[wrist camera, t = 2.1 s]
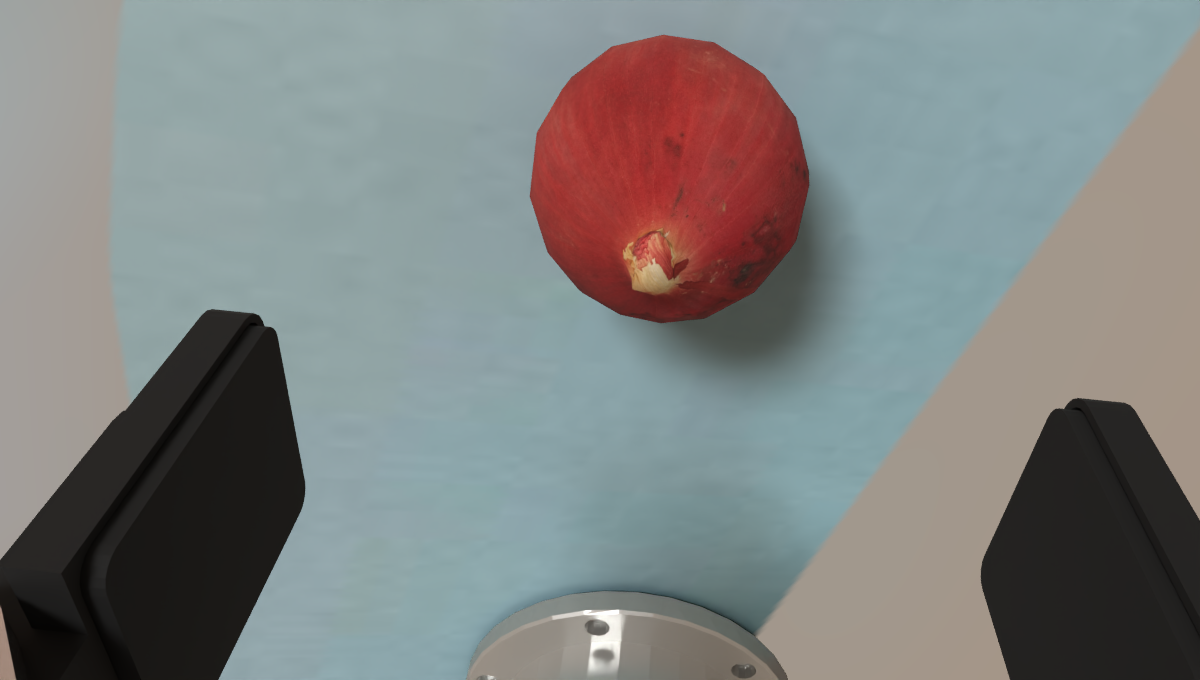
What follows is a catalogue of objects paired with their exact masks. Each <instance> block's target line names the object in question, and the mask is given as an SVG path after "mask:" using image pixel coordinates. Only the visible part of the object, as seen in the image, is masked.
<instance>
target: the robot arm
mask: <svg viewBox="0 0 1200 680" xmlns="http://www.w3.org/2000/svg"><path fill="white" fill-rule="evenodd" d="M304 497H305V480H304V474H303V469H302V464H301V459H300V453H299V448H298V443H297V437H296V432H295V427H294V421H293V416H292V411H291V405H290V400H289V395H288V390H287V384H286V379H285V374H284V368H283V363H282V358H281V352H280V347H279V342H278V337H277V334H276V331H275V330H274V328H271V327H265V326H264V324H263V321H262V319H261V318H260V316H259V315H257V314H253V313H244V312H234V311H224V310H214V309H211V310H207V311H206V312H205V313H204V314H203V315H202V316H201V317H200V318H199V319H198V321H197V322H196V323H195V324H194V326H193V327H192V328H191V329H190V331H189V332H188V333H187V334H186V336H185V337H184V338H183V339H182V341H181V342H180V343H179V344H178V346H177V347H176V348H175V349H174V351H173V352H172V353H171V354H170V356H169V357H168V358H167V359H166V361H165V362H164V363H163V364H162V366H161V367H160V368H159V369H158V371H157V372H156V373H155V374H154V376H153V377H152V378H151V379H150V381H149V382H148V383H147V384H146V386H145V387H144V388H143V389H142V391H141V392H140V393H139V394H138V396H137V397H136V398H135V399H134V401H133V402H132V403H131V404H130V406H129V407H128V408H127V409H126V410H125V411H123V412H121V413H120V414H119V415H118V416H117V417H116V418H115V419H114V420H113V421H112V422H111V423H110V425H109V426H108V427H107V429H106V430H105V431H104V432H103V434H102V435H101V436H100V437H99V438H98V440H97V441H96V442H95V443H94V445H93V446H92V447H91V448H90V450H89V451H88V452H87V453H86V454H85V456H84V457H83V458H82V459H81V461H80V462H79V463H78V464H77V466H76V467H75V468H74V469H73V471H72V472H71V473H70V474H69V476H68V477H67V478H66V479H65V481H64V482H63V483H62V484H61V485H60V487H59V488H58V489H57V491H56V492H55V493H54V494H53V495H52V497H51V498H50V499H49V500H48V502H47V503H46V504H45V506H44V507H43V508H42V509H41V510H40V512H39V513H38V514H37V515H36V517H35V518H34V519H33V520H32V522H31V523H30V524H29V525H28V527H27V528H26V529H25V530H24V532H23V533H22V534H21V535H20V536H19V538H18V539H17V540H16V541H15V543H14V544H13V545H12V546H11V548H10V549H9V550H8V551H7V553H6V554H5V555H4V556H3V557H2V559H1V560H0V680H218V679H219V677H220V675H221V673H222V671H223V669H224V667H225V665H226V663H227V661H228V659H229V657H230V655H231V653H232V651H233V649H234V647H235V645H236V643H237V640H238V638H239V636H240V634H241V632H242V630H243V628H244V626H245V624H246V622H247V620H248V618H249V616H250V614H251V612H252V610H253V608H254V606H255V604H256V602H257V600H258V598H259V596H260V594H261V592H262V589H263V587H264V585H265V583H266V581H267V579H268V577H269V575H270V573H271V571H272V569H273V567H274V565H275V563H276V561H277V559H278V557H279V555H280V553H281V551H282V549H283V547H284V545H285V543H286V541H287V539H288V536H289V534H290V532H291V530H292V528H293V526H294V524H295V522H296V520H297V518H298V516H299V514H300V512H301V509H302V506H303V502H304ZM981 584H982V589H983V592H984V596H985V599H986V602H987V605H988V609H989V612H990V615H991V618H992V622H993V625H994V628H995V632H996V635H997V638H998V642H999V644H1000V648H1001V651H1002V655H1003V658H1004V661H1005V664H1006V668H1007V671H1008V674H1009V677H1010V680H1200V520H1199V518H1198V517H1197V515H1196V513H1195V512H1194V510H1193V508H1192V507H1191V505H1190V503H1189V501H1188V500H1187V498H1186V496H1185V495H1184V493H1183V491H1182V490H1181V488H1180V486H1179V484H1178V483H1177V481H1176V479H1175V478H1174V476H1173V474H1172V472H1171V471H1170V469H1169V468H1168V466H1167V464H1166V463H1165V461H1164V459H1163V457H1162V456H1161V454H1160V452H1159V450H1158V449H1157V447H1156V445H1155V444H1154V442H1153V440H1152V439H1151V437H1150V435H1149V434H1148V432H1147V430H1146V429H1145V427H1144V425H1143V423H1142V422H1141V420H1140V418H1139V417H1138V415H1137V413H1136V411H1135V410H1134V409H1133V408H1132V407H1131V406H1130V405H1128V404H1126V403H1121V402H1111V401H1101V400H1091V399H1081V398H1077V399H1073V400H1072V401H1070V402H1069V403H1068V404H1067V405H1066V407H1065V409H1055V410H1053V411H1052V412H1051V413H1050V415H1049V417H1048V419H1047V421H1046V423H1045V425H1044V427H1043V430H1042V432H1041V434H1040V436H1039V438H1038V440H1037V443H1036V445H1035V447H1034V449H1033V451H1032V454H1031V456H1030V458H1029V460H1028V462H1027V465H1026V467H1025V469H1024V471H1023V473H1022V475H1021V477H1020V480H1019V482H1018V484H1017V486H1016V488H1015V491H1014V493H1013V495H1012V497H1011V499H1010V501H1009V503H1008V506H1007V508H1006V510H1005V512H1004V514H1003V517H1002V519H1001V521H1000V523H999V526H998V528H997V530H996V532H995V534H994V536H993V538H992V540H991V543H990V545H989V547H988V549H987V551H986V554H985V556H984V559H983V561H982V567H981ZM466 680H788V678H787V675H786V673H785V672H784V670H783V669H782V667H781V665H780V664H779V662H778V661H777V659H776V658H775V656H774V655H773V654H772V653H771V652H770V651H769V650H768V649H767V648H766V647H765V646H764V645H763V644H762V643H761V642H760V641H759V640H758V639H757V638H756V637H755V636H753V635H752V634H751V633H749V632H748V631H746V630H745V629H743V628H742V627H740V626H739V625H737V624H736V623H734V622H733V621H731V620H729V619H727V618H725V617H722V616H720V615H718V614H716V613H714V612H712V611H709V610H707V609H705V608H703V607H700V606H697V605H693V604H690V603H687V602H684V601H680V600H677V599H674V598H670V597H664V596H658V595H652V594H646V593H640V592H619V591H598V592H588V593H578V594H570V595H566V596H562V597H558V598H554V599H550V600H546V601H542V602H539V603H537V604H534V605H532V606H530V607H527V608H525V609H522V610H520V611H518V612H515V613H514V614H512V615H511V616H509V617H508V618H506V619H505V620H503V621H502V622H500V623H499V624H498V625H496V626H495V627H494V628H493V629H492V630H491V631H490V632H489V633H488V634H487V635H486V636H485V637H484V638H483V640H482V641H481V642H480V643H479V645H478V647H477V649H476V651H475V653H474V655H473V657H472V659H471V661H470V665H469V669H468V674H467V678H466Z"/></svg>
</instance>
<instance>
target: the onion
mask: <svg viewBox="0 0 1200 680" xmlns="http://www.w3.org/2000/svg"><path fill="white" fill-rule="evenodd" d="M808 188H809V170H808V166H807V162H806V158H805V154H804V149H803V145H802V141H801V137H800V132H799V128H798V124H797V120H796V117H795V116H794V114H793V113H792V112H791V110H790V109H789V108H788V106H787V105H786V104H785V102H784V101H783V100H782V98H781V97H780V95H779V94H778V93H777V91H776V90H775V89H774V87H773V86H772V85H771V83H770V82H769V81H768V79H767V78H766V76H765V75H764V74H762V73H761V72H760V71H758V70H757V69H756V68H754V67H753V66H751V65H749V64H748V63H746V62H745V61H743V60H741V59H740V58H738V57H737V56H735V55H733V54H732V53H730V52H729V51H727V50H725V49H724V48H722V47H721V46H719V45H717V44H716V43H714V42H707V41H701V40H694V39H687V38H680V37H674V36H667V35H661V36H656V37H652V38H647V39H643V40H639V41H634V42H630V43H626V44H621V45H617V46H613V47H611V48H609V49H608V50H607V51H605V52H604V53H603V54H602V55H600V56H599V57H598V58H596V59H595V60H594V61H592V62H591V63H590V64H588V65H587V66H586V67H584V68H583V69H582V70H581V71H579V72H578V73H577V74H575V75H574V76H573V77H571V79H570V80H569V81H568V83H567V84H566V85H565V87H564V88H563V89H562V91H561V92H560V94H559V96H558V98H557V99H556V101H555V103H554V104H553V106H552V108H551V110H550V111H549V113H548V115H547V117H546V118H545V120H544V122H543V123H542V125H541V127H540V129H539V130H538V132H537V136H536V145H535V154H534V163H533V172H532V181H531V191H530V198H531V202H532V205H533V208H534V211H535V214H536V217H537V220H538V224H539V227H540V230H541V233H542V236H543V239H544V243H545V245H546V248H547V251H548V253H549V255H550V256H551V257H552V258H553V259H554V261H555V262H556V263H557V264H558V265H559V267H560V268H561V269H562V270H563V271H564V273H565V274H566V275H567V276H568V277H569V279H570V280H571V281H572V282H573V283H574V285H575V286H576V287H577V288H578V289H579V290H580V291H581V292H582V293H584V294H586V295H587V296H589V297H591V298H592V299H594V300H596V301H598V302H599V303H601V304H603V305H605V306H606V307H608V308H610V309H611V310H613V311H615V312H617V313H618V314H620V315H625V316H630V317H634V318H639V319H644V320H649V321H653V322H658V323H667V322H676V321H685V320H695V319H704V318H706V317H709V316H710V315H712V314H714V313H716V312H718V311H720V310H722V309H724V308H725V307H727V306H729V305H731V304H733V303H735V302H737V301H739V300H741V299H742V298H744V297H746V296H748V295H750V294H752V293H754V292H755V291H756V290H757V288H758V287H759V286H760V285H761V284H762V282H763V281H764V280H765V279H766V278H767V277H768V275H769V274H770V273H771V272H772V271H773V269H774V268H775V267H776V266H777V265H778V264H779V262H780V261H781V260H782V259H783V258H784V256H785V255H786V254H787V253H788V252H789V250H790V249H791V247H792V246H793V244H794V243H795V241H796V239H797V235H798V230H799V226H800V222H801V218H802V213H803V209H804V205H805V201H806V197H807V192H808Z"/></svg>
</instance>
